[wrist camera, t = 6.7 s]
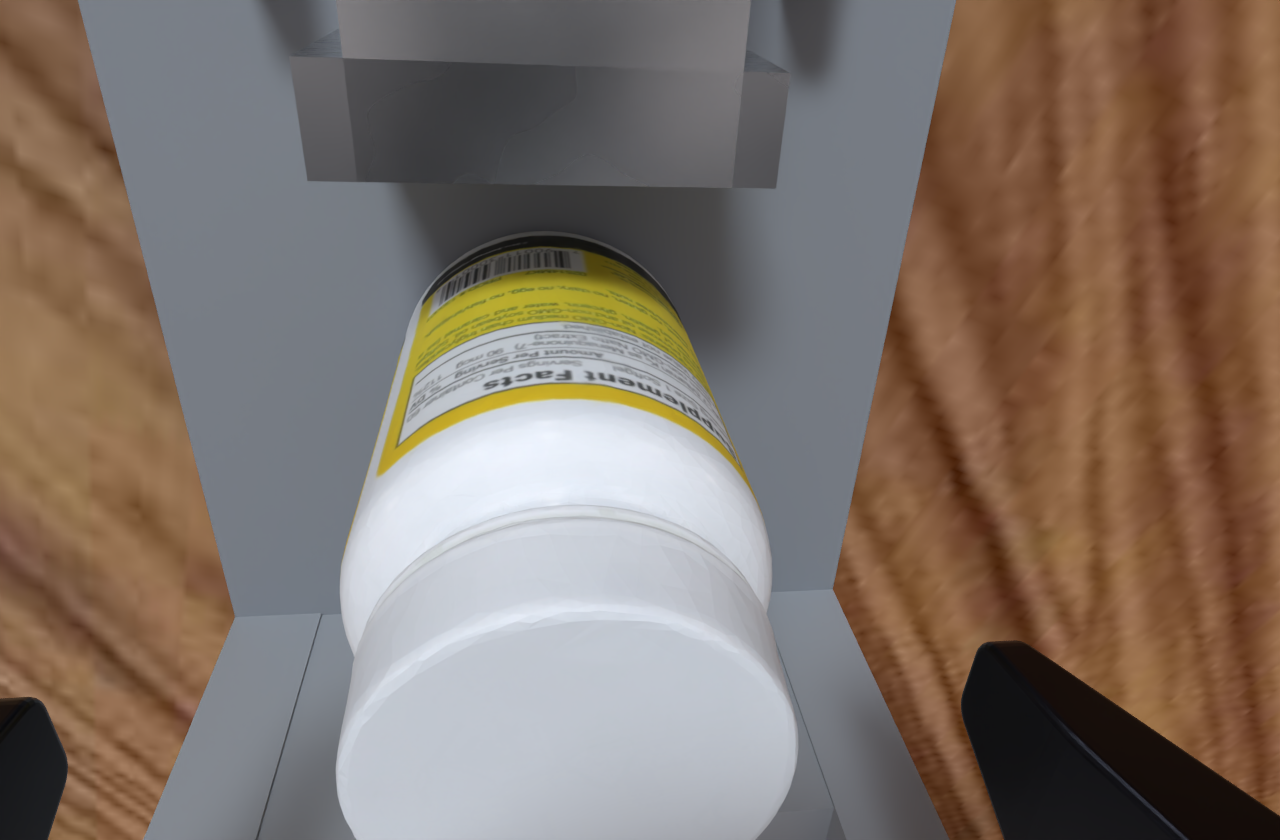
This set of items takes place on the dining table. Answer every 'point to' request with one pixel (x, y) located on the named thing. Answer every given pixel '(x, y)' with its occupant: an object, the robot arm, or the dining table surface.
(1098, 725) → the robot arm
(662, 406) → the supplement bottle
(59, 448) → the dining table surface
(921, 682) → the dining table surface
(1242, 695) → the dining table surface
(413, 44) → the pale grey box
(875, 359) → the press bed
